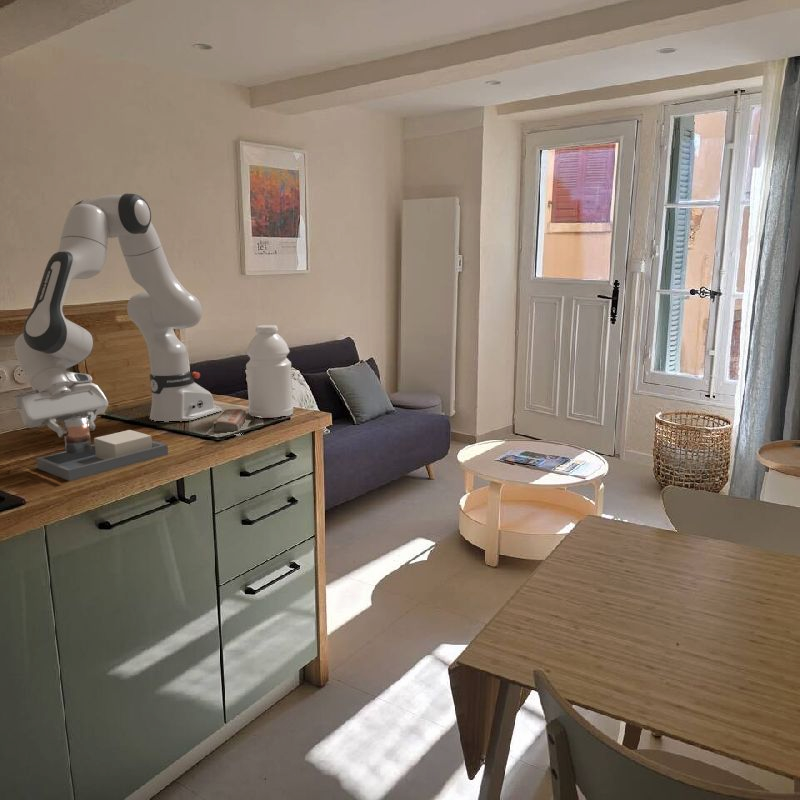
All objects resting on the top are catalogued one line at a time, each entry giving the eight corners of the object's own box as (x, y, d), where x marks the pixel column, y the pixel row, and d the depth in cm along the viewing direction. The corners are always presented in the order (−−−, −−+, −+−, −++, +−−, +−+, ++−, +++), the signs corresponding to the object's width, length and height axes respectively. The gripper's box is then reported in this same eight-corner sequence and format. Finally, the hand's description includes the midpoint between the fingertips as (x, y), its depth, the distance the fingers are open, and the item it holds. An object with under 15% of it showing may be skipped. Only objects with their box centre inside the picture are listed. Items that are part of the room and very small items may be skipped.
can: (84, 445, 180) (80, 414, 178) (95, 449, 176) (92, 417, 174) (61, 450, 175) (57, 418, 174) (73, 454, 172) (69, 422, 170)
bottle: (281, 407, 239) (276, 322, 232) (301, 414, 228) (297, 326, 221) (241, 413, 230) (235, 325, 224) (260, 421, 220) (255, 330, 213)
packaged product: (218, 408, 219) (251, 407, 220) (219, 423, 220) (252, 422, 221) (204, 422, 202) (239, 422, 202) (205, 439, 203) (241, 438, 203)
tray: (134, 445, 196) (133, 435, 196) (168, 456, 186) (167, 444, 186) (37, 470, 177) (36, 458, 176) (69, 483, 167) (68, 470, 166)
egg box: (131, 447, 192) (129, 429, 191) (152, 454, 186) (151, 435, 185) (96, 456, 185) (94, 438, 184) (116, 464, 179) (114, 444, 178)
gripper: (13, 386, 169) (37, 433, 165) (96, 373, 184) (120, 416, 180) (7, 402, 172) (31, 449, 168) (89, 388, 188) (112, 431, 184)
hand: (78, 432), depth 174 cm, fingers closed on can, 6 cm apart
